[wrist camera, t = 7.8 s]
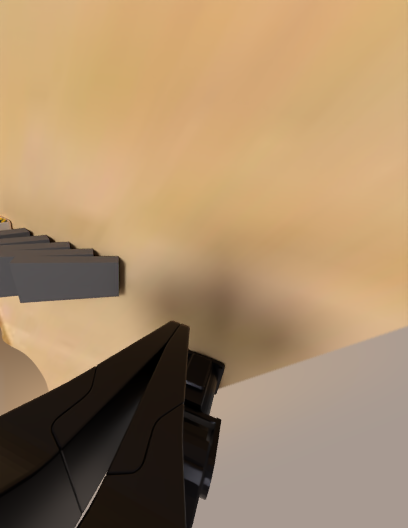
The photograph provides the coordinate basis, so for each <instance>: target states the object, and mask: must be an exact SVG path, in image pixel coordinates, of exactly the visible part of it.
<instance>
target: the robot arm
mask: <svg viewBox="0 0 408 528" xmlns="http://www.w3.org/2000/svg"><path fill="white" fill-rule="evenodd" d="M189 330H190V327H189V326H187V325H184V324H180V323H178V322H175V321H170V322H168V323H167V324H165V325H163V326H162V327H160V328H158V329H157V330H155V331H153V332H152V333H150V334H148V335H147V336H145V337H143V338H142V339H140V340H138V341H137V342H135V343H133V344H132V345H130V346H128V347H127V348H125V349H123V350H122V351H120V352H118V353H117V354H115V355H113V356H111V357H110V358H108V359H106V360H105V361H103V362H101V363H100V364H98V365H97V367H96V366H95V367H93V368H91V369H90V370H88V371H86V372H85V373H83V374H81V375H79V376H78V377H76V378H74V379H72V380H71V381H69V382H67V383H65V384H63V385H61V386H59V387H57V388H55V389H53V390H51V391H50V392H48V393H46V394H44V395H42V396H40V397H38V398H36V399H33V400H32V401H30V402H28V403H25V404H23V405H21V406H19V407H18V408H15V409H13V410H11V411H9V412H7V413H5V414H3V415H1V416H0V528H74V527H75V526H76V524H77V523H78V521H79V519H80V517H81V516H82V513H83V512H84V510H85V509H86V507H87V505H88V503H89V501H90V500H91V498H92V496H93V495H94V493H95V491H96V490H97V487H98V486H99V484H100V483H101V481H102V479H103V477H104V476H105V474H106V472H107V474H106V476H105V478H104V480H103V482H102V484H101V486H100V488H99V490H98V492H97V494H96V496H95V498H94V500H93V501H92V503H91V505H90V507H89V509H88V510H87V512H86V513H85V515H84V517H83V518H82V520H81V521H80V523H79V525H78V526H77V528H192V524H193V521H194V517H195V512H196V508H197V504H198V500H199V497H200V498H202V499H204V500H205V499H206V497H207V494H208V491H209V487H210V483H211V479H212V474H213V469H214V464H215V458H216V452H217V445H218V439H219V432H220V425H221V419H219V418H217V419H216V418H214V417H212V416H209V414H210V409H211V406H212V401H213V397H214V394H216V393H217V390H218V387H219V384H220V381H221V378H222V375H223V372H224V369H225V365H224V364H223V363H221V362H218V361H216V360H213V359H210V358H208V357H205V356H202V355H200V354H197V353H194V352H192V351H189V350H188V344H189Z"/></svg>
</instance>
